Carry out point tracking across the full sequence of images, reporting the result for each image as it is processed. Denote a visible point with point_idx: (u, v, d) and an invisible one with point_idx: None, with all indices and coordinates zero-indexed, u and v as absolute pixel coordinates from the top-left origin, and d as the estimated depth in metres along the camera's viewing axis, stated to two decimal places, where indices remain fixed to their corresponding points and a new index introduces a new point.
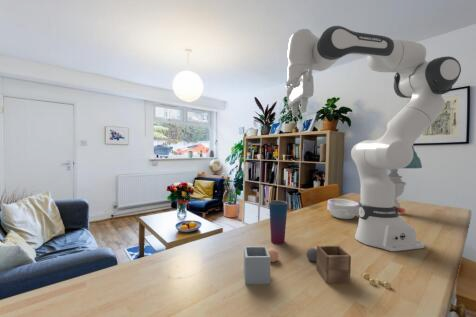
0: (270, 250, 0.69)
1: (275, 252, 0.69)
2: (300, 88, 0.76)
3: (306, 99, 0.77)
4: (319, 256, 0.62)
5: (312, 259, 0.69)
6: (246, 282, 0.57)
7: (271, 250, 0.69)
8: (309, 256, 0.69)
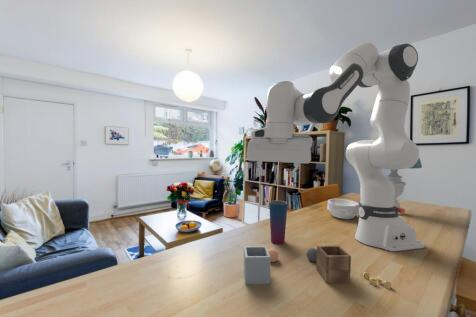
0: (270, 250, 0.69)
1: (275, 252, 0.69)
2: (301, 153, 0.69)
3: None
4: (319, 256, 0.62)
5: (312, 259, 0.69)
6: (246, 282, 0.57)
7: (271, 250, 0.69)
8: (309, 256, 0.69)
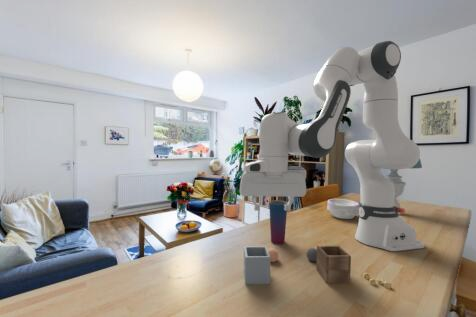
0: (270, 250, 0.69)
1: (275, 252, 0.69)
2: (296, 186, 0.67)
3: None
4: (319, 256, 0.62)
5: (312, 259, 0.69)
6: (246, 282, 0.57)
7: (271, 250, 0.69)
8: (309, 256, 0.69)
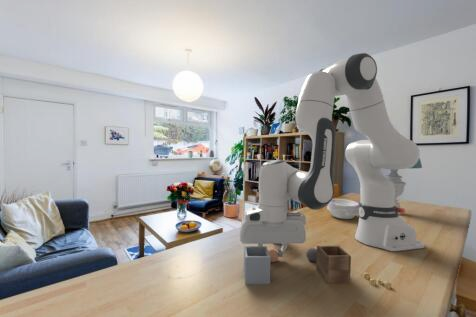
0: (270, 250, 0.69)
1: (275, 252, 0.69)
2: (296, 234, 0.68)
3: None
4: (319, 256, 0.62)
5: (312, 259, 0.69)
6: (246, 282, 0.57)
7: (271, 250, 0.69)
8: (309, 256, 0.69)
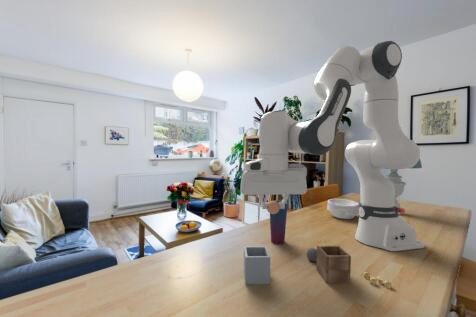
0: (271, 202, 0.68)
1: (276, 203, 0.68)
2: (297, 184, 0.67)
3: None
4: (319, 256, 0.62)
5: (312, 259, 0.69)
6: (246, 282, 0.57)
7: (272, 202, 0.68)
8: (309, 256, 0.69)
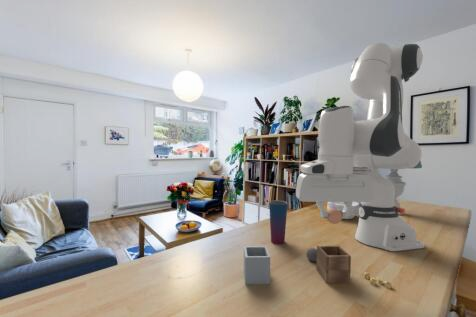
0: (332, 210, 0.60)
1: (338, 212, 0.59)
2: (363, 190, 0.59)
3: None
4: (319, 256, 0.62)
5: (312, 259, 0.69)
6: (246, 282, 0.57)
7: (333, 210, 0.60)
8: (309, 256, 0.69)
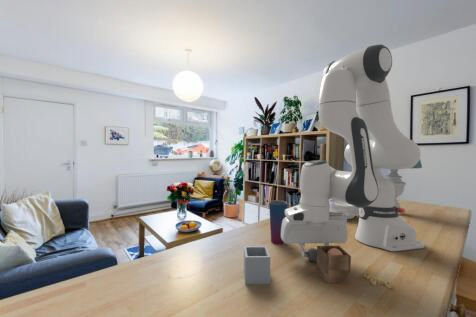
0: None
1: None
2: (338, 233, 0.68)
3: None
4: (319, 256, 0.62)
5: (312, 259, 0.69)
6: (246, 282, 0.57)
7: None
8: (309, 256, 0.69)
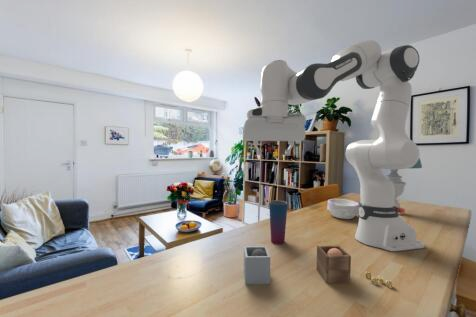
0: None
1: None
2: (296, 131, 0.72)
3: None
4: (319, 256, 0.62)
5: None
6: (246, 282, 0.57)
7: None
8: None
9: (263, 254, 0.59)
